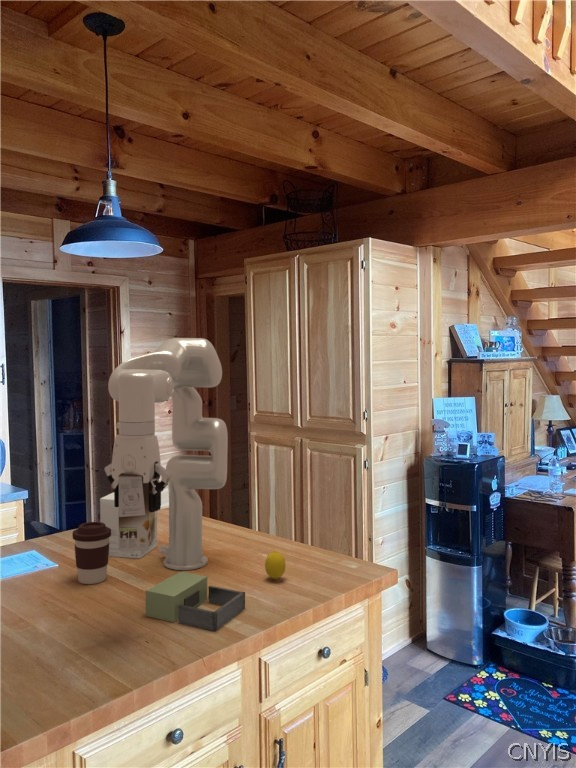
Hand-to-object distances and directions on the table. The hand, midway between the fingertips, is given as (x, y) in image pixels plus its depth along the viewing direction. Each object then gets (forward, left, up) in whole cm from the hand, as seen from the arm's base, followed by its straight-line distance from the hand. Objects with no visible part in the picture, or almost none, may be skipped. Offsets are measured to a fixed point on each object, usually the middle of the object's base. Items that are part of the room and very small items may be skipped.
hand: (137, 508), depth 135 cm
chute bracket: (+10, +15, -28) cm, 33 cm away
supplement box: (-38, +44, -28) cm, 64 cm away
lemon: (+13, +42, -28) cm, 52 cm away
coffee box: (0, 0, -8) cm, 8 cm away
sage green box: (0, +15, -28) cm, 31 cm away
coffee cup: (-31, +20, -28) cm, 46 cm away
